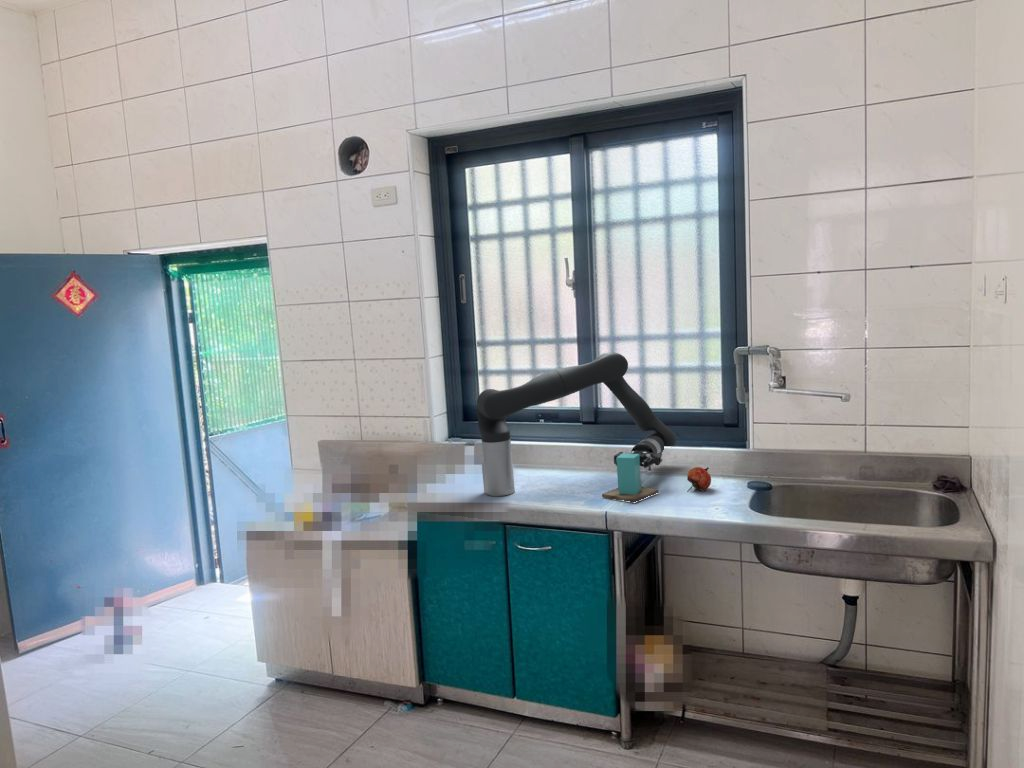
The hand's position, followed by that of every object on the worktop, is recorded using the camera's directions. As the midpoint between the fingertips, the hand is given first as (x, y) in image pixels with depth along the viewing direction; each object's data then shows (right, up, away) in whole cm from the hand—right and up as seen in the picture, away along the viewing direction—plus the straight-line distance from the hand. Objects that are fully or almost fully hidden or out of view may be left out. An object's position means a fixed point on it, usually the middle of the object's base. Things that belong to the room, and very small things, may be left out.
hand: (631, 464), depth 219 cm
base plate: (0, -9, -1) cm, 9 cm away
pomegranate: (+20, -8, -1) cm, 22 cm away
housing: (0, -8, -1) cm, 8 cm away
